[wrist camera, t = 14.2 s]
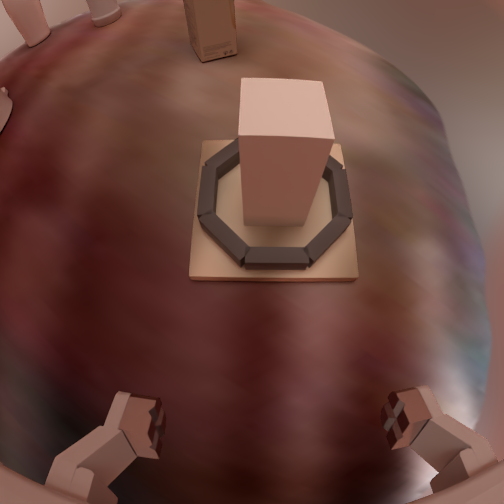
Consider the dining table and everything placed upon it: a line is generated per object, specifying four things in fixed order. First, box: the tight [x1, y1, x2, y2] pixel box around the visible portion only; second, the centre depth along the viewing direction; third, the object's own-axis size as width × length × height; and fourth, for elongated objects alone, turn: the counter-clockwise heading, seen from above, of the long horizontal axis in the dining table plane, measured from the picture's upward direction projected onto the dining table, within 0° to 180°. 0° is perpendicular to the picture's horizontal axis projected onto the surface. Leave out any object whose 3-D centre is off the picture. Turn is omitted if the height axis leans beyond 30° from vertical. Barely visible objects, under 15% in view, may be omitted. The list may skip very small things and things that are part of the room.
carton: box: [238, 78, 335, 226], centre depth 17 cm, size 4×4×9 cm
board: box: [189, 138, 359, 282], centre depth 21 cm, size 11×11×2 cm
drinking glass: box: [2, 0, 50, 47], centre depth 28 cm, size 7×7×15 cm
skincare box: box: [183, 0, 237, 62], centre depth 23 cm, size 6×4×12 cm
